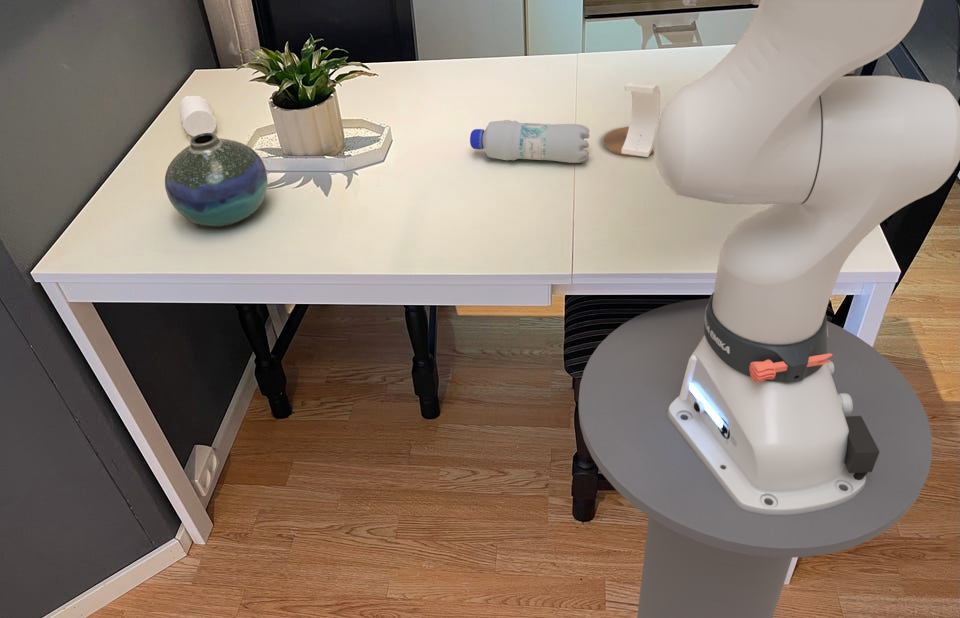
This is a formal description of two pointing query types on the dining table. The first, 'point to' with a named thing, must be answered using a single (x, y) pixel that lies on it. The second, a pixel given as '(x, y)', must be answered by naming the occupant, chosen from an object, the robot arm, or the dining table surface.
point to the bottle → (532, 141)
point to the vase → (216, 181)
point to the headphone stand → (642, 119)
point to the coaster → (617, 141)
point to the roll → (196, 115)
